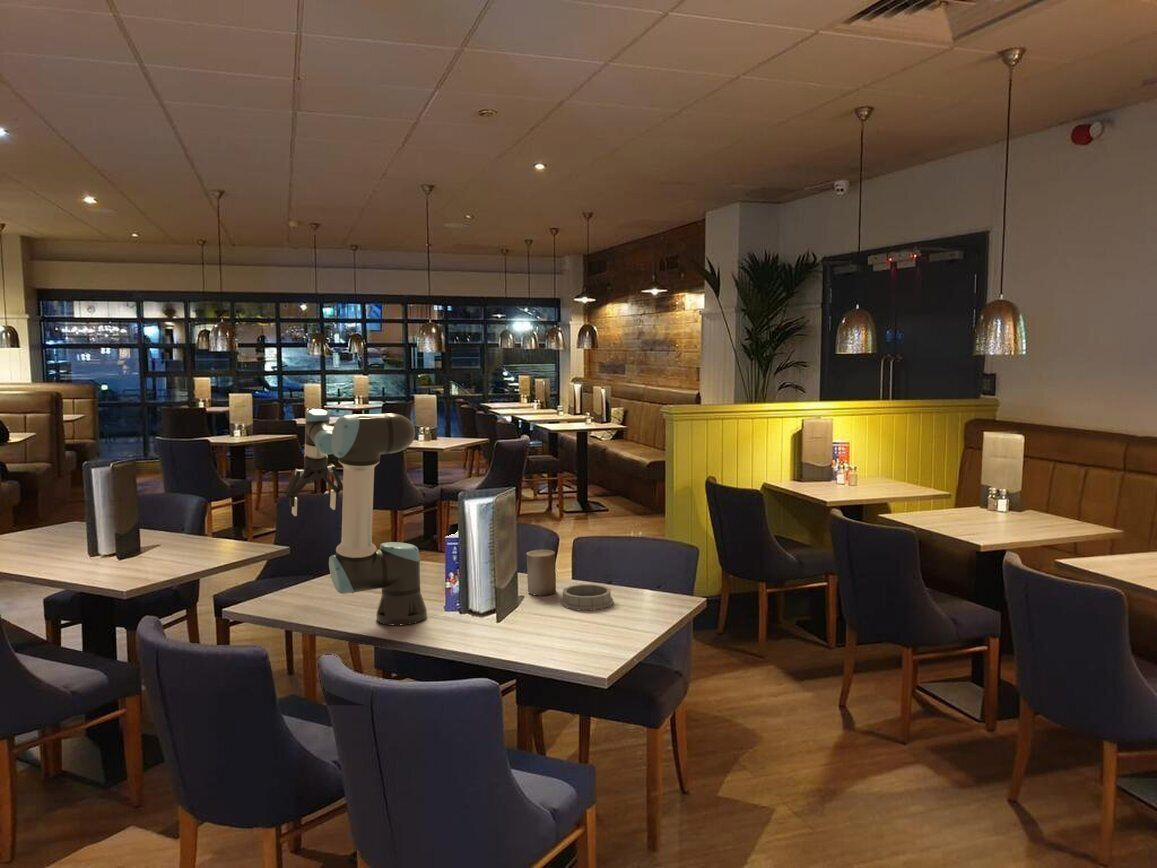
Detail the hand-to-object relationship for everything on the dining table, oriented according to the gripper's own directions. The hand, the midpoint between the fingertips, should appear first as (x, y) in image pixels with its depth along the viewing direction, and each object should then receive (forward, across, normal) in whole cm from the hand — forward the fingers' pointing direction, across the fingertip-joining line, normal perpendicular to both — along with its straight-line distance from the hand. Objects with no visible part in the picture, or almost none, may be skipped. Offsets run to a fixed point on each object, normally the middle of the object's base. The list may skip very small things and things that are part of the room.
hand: (313, 511), depth 291 cm
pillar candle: (+13, -56, +61) cm, 84 cm away
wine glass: (+21, -44, +31) cm, 58 cm away
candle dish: (+7, -60, +80) cm, 100 cm away
